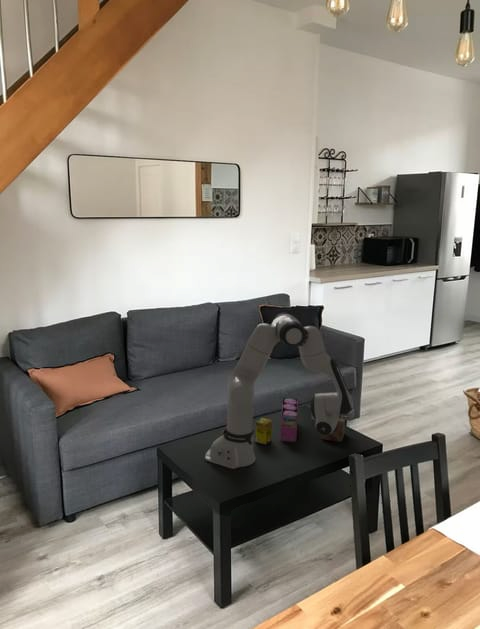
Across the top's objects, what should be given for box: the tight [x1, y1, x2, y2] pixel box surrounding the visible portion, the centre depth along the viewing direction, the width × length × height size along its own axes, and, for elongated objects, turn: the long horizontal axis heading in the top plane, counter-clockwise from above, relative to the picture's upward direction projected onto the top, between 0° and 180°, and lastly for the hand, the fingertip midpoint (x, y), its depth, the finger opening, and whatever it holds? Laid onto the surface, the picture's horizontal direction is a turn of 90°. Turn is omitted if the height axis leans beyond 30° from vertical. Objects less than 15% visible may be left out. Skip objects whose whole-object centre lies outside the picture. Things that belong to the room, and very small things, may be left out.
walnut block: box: [320, 419, 346, 443], centre depth 252 cm, size 10×10×8 cm
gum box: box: [280, 397, 299, 443], centre depth 256 cm, size 24×8×14 cm, turn 173°
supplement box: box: [254, 417, 273, 446], centre depth 244 cm, size 6×6×11 cm
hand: (334, 405), depth 250 cm, fingers closed on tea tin, 5 cm apart
